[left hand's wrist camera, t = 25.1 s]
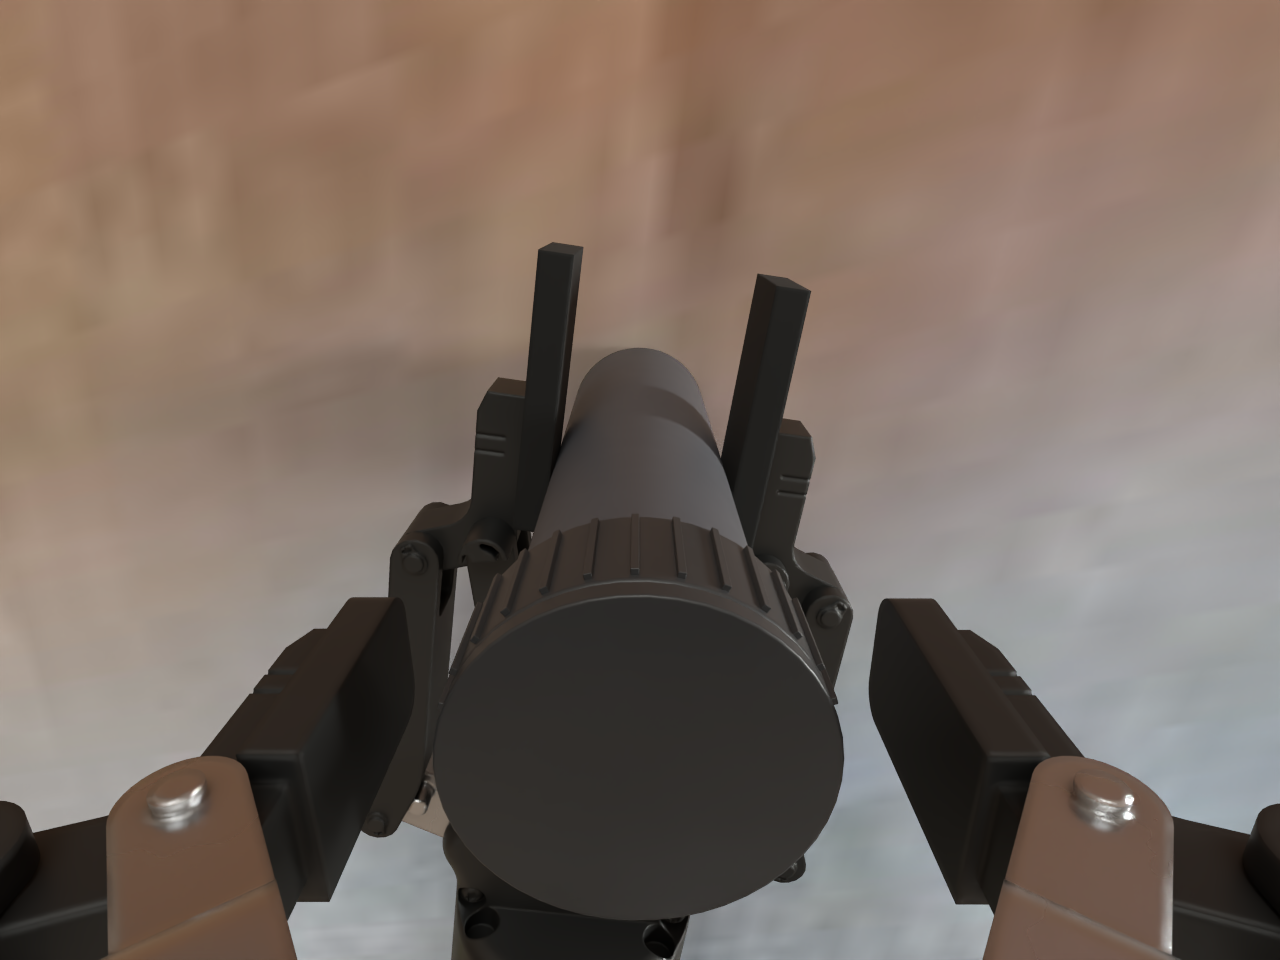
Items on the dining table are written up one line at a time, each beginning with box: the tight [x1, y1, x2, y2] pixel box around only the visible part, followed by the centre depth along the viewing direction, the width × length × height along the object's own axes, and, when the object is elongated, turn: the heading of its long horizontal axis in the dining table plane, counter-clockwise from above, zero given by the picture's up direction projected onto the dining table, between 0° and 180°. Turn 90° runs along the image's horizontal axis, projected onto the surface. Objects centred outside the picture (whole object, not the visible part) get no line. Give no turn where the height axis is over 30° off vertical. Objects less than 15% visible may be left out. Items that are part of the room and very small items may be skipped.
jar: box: [528, 348, 747, 551], centre depth 18 cm, size 4×4×16 cm
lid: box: [433, 514, 844, 920], centre depth 10 cm, size 5×5×2 cm
